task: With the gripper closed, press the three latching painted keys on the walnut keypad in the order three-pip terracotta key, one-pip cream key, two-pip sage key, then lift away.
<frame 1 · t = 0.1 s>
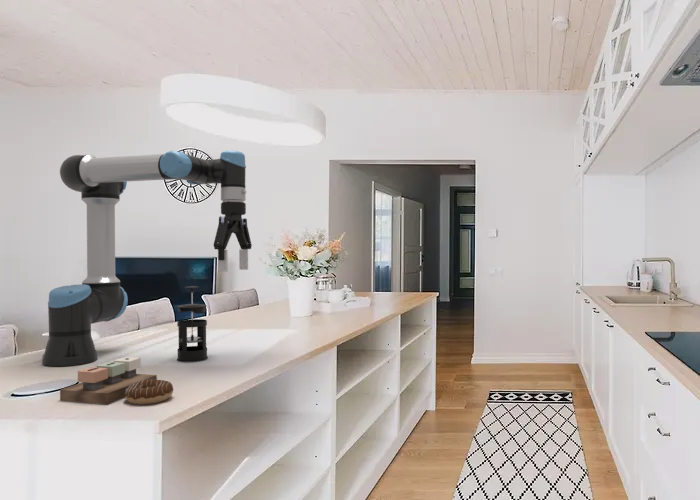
hand: (233, 270, 166), 28 cm above the table, fingers open, 13 cm apart
cream key: (127, 363, 137), point 6 cm above the table, slide at 0.0 cm
keypad: (111, 392, 131), on the table
donut: (149, 400, 125), on the table
french press: (193, 359, 170), on the table
terracotta key: (93, 374, 125), point 6 cm above the table, slide at 0.0 cm
sage key: (110, 368, 131), point 6 cm above the table, slide at 0.0 cm
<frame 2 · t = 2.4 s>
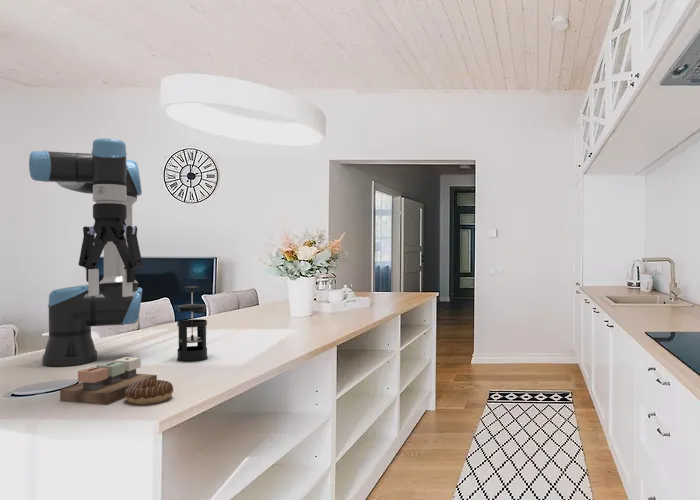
hand: (110, 295, 131), 23 cm above the table, fingers open, 9 cm apart
nothing on the table moved.
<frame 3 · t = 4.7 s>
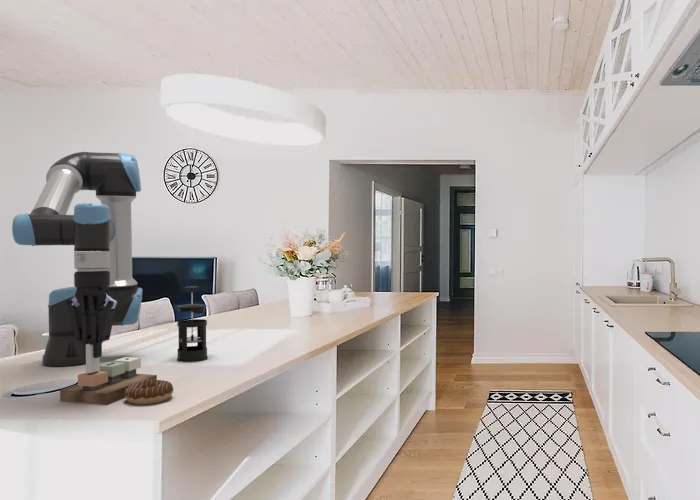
hand: (92, 371, 125), 6 cm above the table, fingers closed
terracotta key: (93, 378, 125), point 5 cm above the table, slide at 0.9 cm, touching gripper
everything else where it was.
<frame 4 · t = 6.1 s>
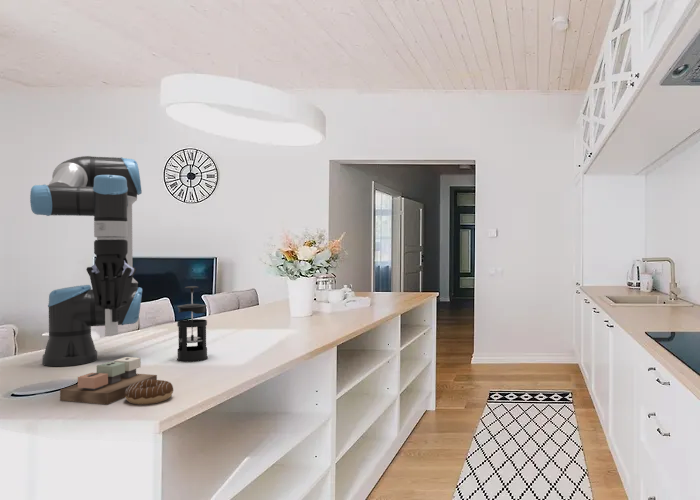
hand: (111, 335, 132), 14 cm above the table, fingers closed
terracotta key: (93, 380, 125), point 4 cm above the table, slide at 1.3 cm
everything else where it was.
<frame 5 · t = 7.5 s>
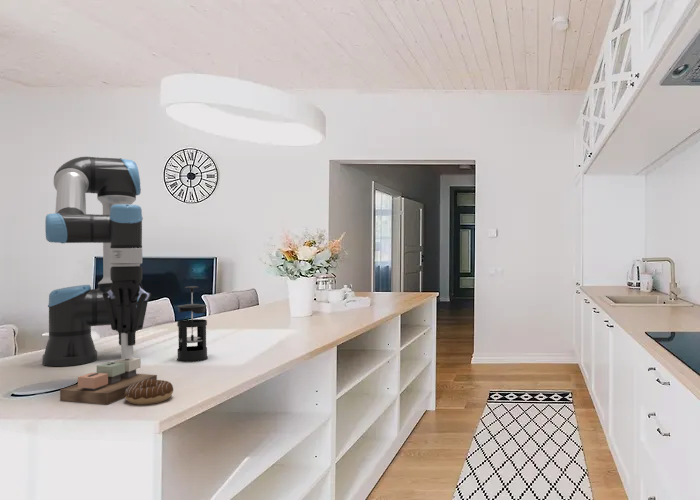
hand: (127, 358, 137), 7 cm above the table, fingers closed
cream key: (127, 364, 137), point 6 cm above the table, slide at 0.1 cm, touching gripper
everything else where it was.
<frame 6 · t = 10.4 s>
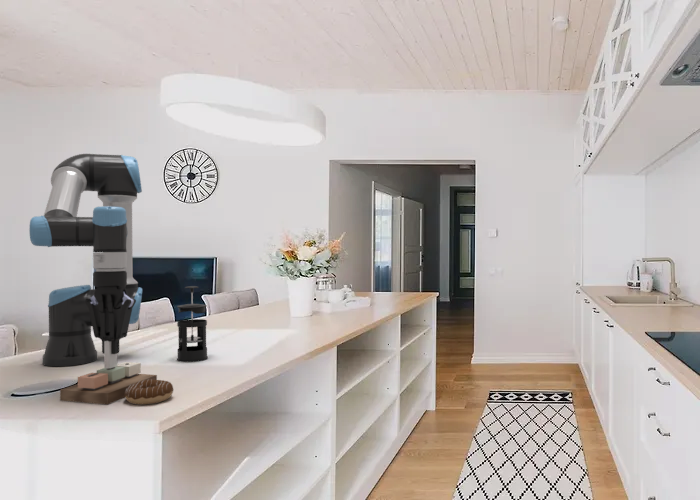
hand: (110, 367, 131), 6 cm above the table, fingers closed
cream key: (127, 368, 137), point 4 cm above the table, slide at 1.3 cm
sage key: (110, 373, 131), point 5 cm above the table, slide at 1.1 cm, touching gripper
everything else where it was.
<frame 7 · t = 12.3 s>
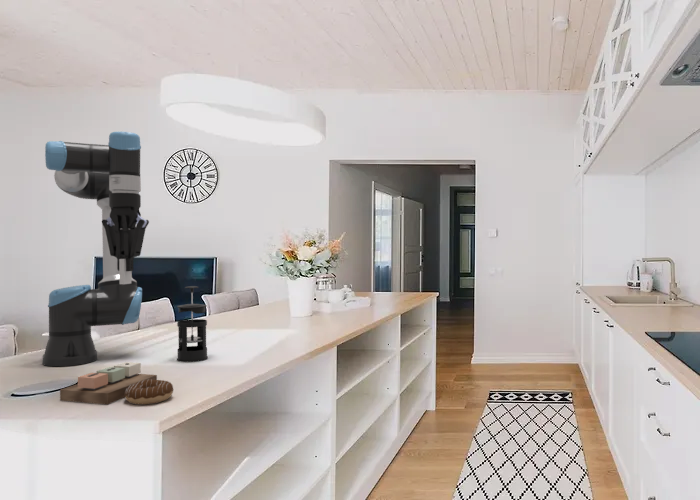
hand: (125, 283, 140), 26 cm above the table, fingers closed
sage key: (110, 374, 131), point 4 cm above the table, slide at 1.3 cm
everything else where it was.
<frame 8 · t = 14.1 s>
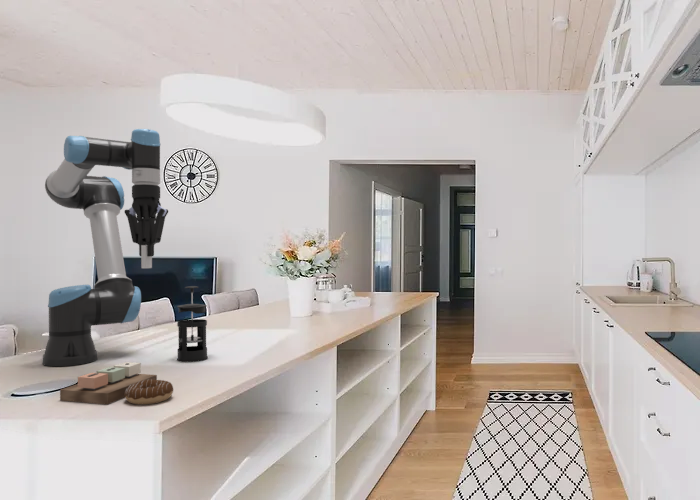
hand: (146, 268, 152), 29 cm above the table, fingers closed
nothing on the table moved.
at the end: terracotta key slide at 1.3 cm; cream key slide at 1.3 cm; sage key slide at 1.3 cm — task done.
